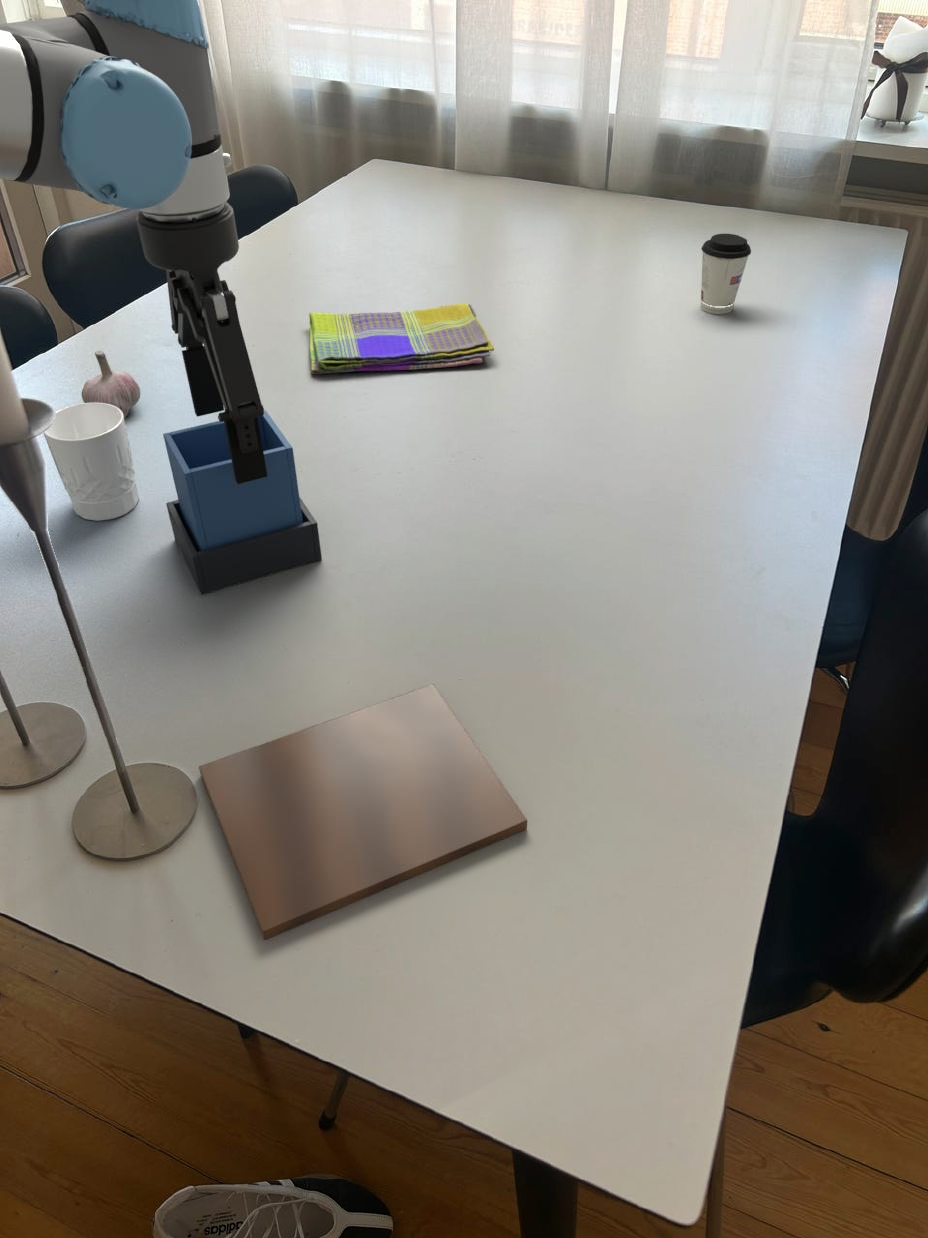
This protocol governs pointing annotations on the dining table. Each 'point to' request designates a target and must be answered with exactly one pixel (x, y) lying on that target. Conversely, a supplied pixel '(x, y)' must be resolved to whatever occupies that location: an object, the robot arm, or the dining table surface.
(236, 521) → the blue bin
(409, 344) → the dish towel
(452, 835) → the brown wooden flat board
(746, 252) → the coffee cup
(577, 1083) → the dining table surface
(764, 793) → the dining table surface
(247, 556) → the charcoal bin
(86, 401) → the garlic bulb
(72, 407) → the white cup
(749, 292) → the dining table surface
